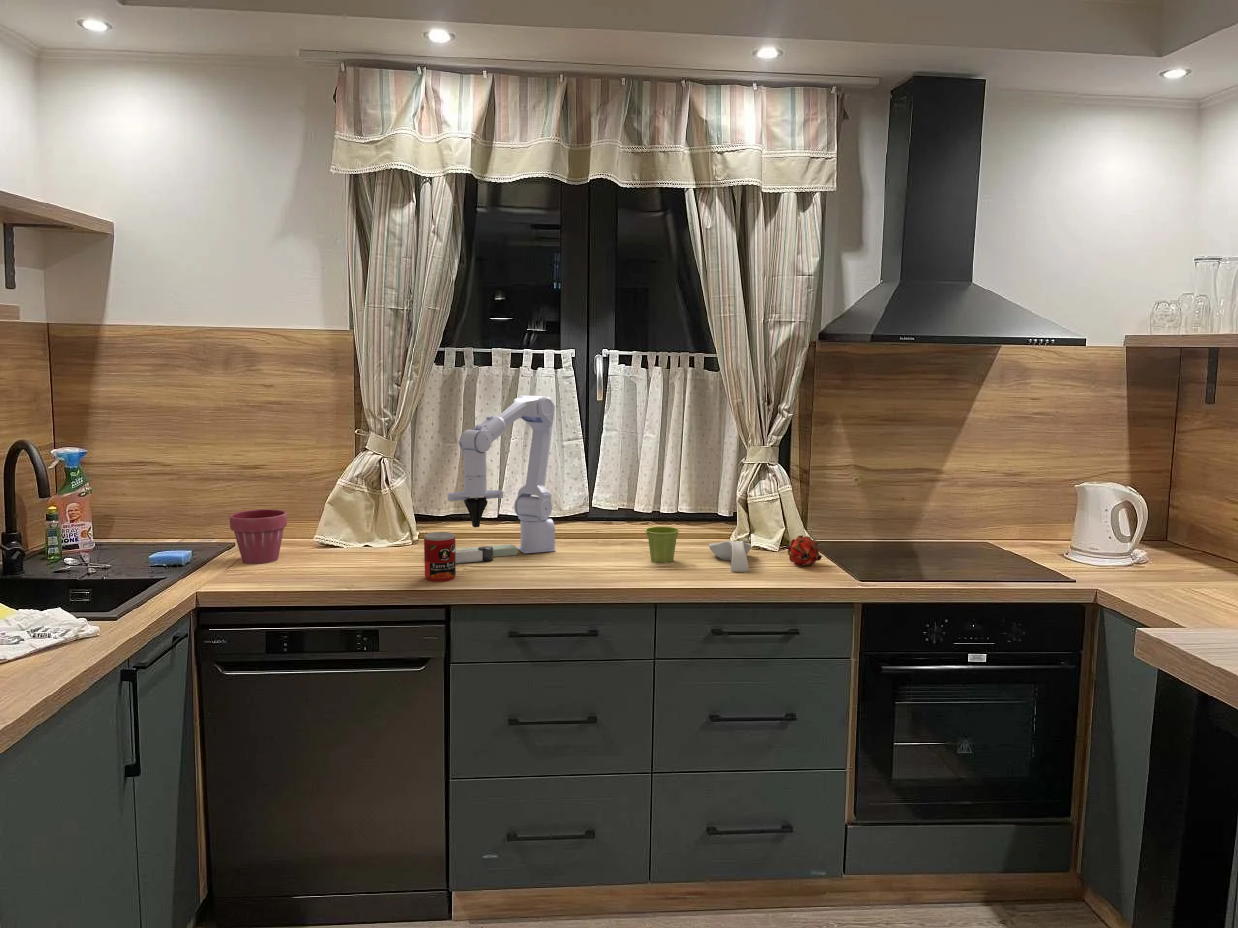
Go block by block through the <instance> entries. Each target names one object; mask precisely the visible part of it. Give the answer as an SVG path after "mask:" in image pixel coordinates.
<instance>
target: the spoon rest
mask: <svg viewBox="0 0 1238 928" xmlns="http://www.w3.org/2000/svg"><path fill="white" fill-rule="evenodd" d="M708 547H709V550H710V551H711V553H713V554H714V555H715V556H716V557H717V558H719V559H721V560H726V561H731V562H730V572H732V573H747V572H749V567H750V566H749V562H748V557H747V555H748V553H750V551H751V549H752V544H751V543H747V542H745V541H744V540H739V541H732V540H726V541H723V542H711V543H709V544H708Z"/></svg>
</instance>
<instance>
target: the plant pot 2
mask: <svg viewBox="0 0 1238 928" xmlns="http://www.w3.org/2000/svg"><path fill="white" fill-rule="evenodd" d="M680 531H681V529H679V528H678V527H672V526H650V527H647V528H645V529H644V532H645V534H646V537H647V538H648V539H647V540H648V546H649V555H650V561H651V562H653V563H660V564H666V563H671V562H673V561H674V560H675V559H674V558H675V551H676V550H675V549H676V543H677V538H678V536H679V533H680Z"/></svg>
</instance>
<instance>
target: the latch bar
mask: <svg viewBox="0 0 1238 928" xmlns="http://www.w3.org/2000/svg"><path fill="white" fill-rule="evenodd" d="M490 546H491V545H485V546H484V545H483V547H482V546H478V547H479V548H478V549H468V550H456V564H464V563H473V562H474V563H475V562H476V563H477V562H490V561H493V560H494V557H493V547H490Z"/></svg>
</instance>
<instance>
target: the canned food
mask: <svg viewBox="0 0 1238 928" xmlns="http://www.w3.org/2000/svg"><path fill="white" fill-rule="evenodd" d="M423 549H424V550H423V553H424V559H423V560H424V576H425V580H427V581H430V582H436V583H437V582H439V583H441V582H449V581H452V580H454V579H455V577H456V573H457V571H456V569H457V567H456V564H457V563H456V549H457V548H456V534H455V533H453V532H451V531H450V532H449V531H435V532H429V533H426V534H424V537H423Z"/></svg>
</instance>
